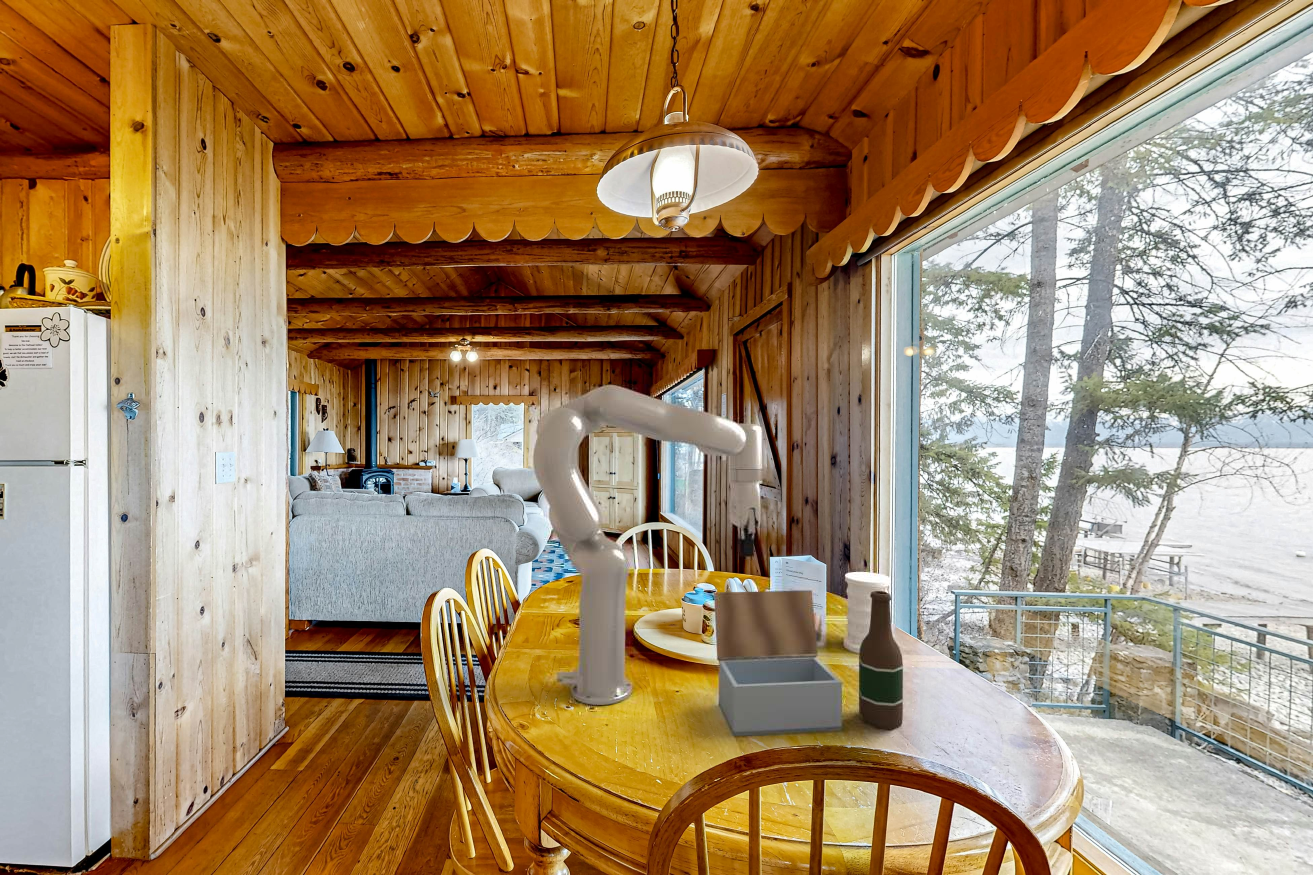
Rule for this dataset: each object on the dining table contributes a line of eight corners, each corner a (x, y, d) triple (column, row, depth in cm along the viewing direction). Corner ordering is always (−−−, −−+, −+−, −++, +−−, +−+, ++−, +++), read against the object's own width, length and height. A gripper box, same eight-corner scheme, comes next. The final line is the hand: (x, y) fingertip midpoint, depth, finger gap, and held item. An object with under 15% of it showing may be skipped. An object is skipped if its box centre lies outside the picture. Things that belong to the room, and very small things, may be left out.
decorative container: (869, 637, 149) (869, 570, 150) (902, 652, 139) (902, 580, 139) (833, 642, 145) (834, 573, 146) (864, 658, 135) (865, 584, 135)
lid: (714, 592, 113) (714, 592, 114) (718, 660, 110) (717, 660, 110) (811, 590, 115) (810, 590, 116) (817, 656, 112) (816, 656, 113)
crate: (733, 736, 98) (734, 686, 98) (718, 704, 110) (718, 660, 110) (841, 730, 100) (842, 681, 100) (815, 700, 112) (815, 656, 112)
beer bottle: (899, 735, 99) (899, 600, 99) (854, 723, 103) (854, 593, 103) (905, 717, 106) (906, 590, 106) (863, 706, 110) (863, 585, 110)
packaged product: (791, 607, 162) (827, 610, 158) (791, 623, 162) (827, 627, 158) (784, 626, 145) (824, 630, 141) (784, 644, 144) (824, 649, 141)
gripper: (722, 474, 136) (722, 550, 135) (738, 479, 121) (738, 563, 121) (752, 474, 136) (752, 549, 136) (771, 478, 122) (772, 562, 121)
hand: (746, 555), depth 128 cm, fingers closed
